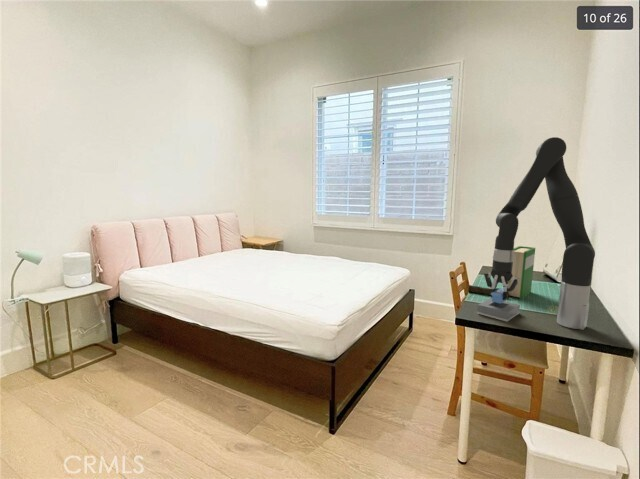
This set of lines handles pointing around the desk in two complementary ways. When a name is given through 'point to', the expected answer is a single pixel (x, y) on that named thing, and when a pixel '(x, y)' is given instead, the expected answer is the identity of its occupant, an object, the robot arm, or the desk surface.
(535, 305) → the desk surface
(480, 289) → the hand tool
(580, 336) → the desk surface
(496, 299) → the block
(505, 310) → the plate
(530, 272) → the hardback book
